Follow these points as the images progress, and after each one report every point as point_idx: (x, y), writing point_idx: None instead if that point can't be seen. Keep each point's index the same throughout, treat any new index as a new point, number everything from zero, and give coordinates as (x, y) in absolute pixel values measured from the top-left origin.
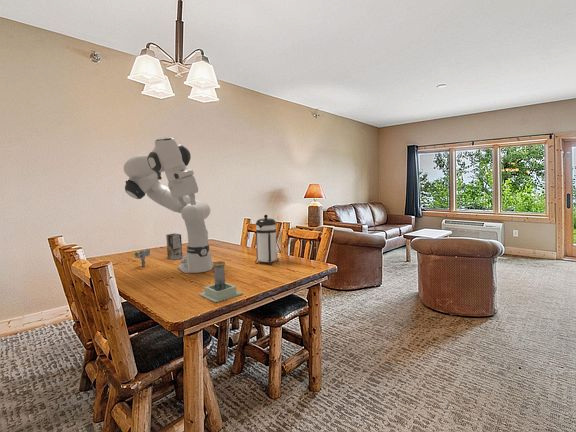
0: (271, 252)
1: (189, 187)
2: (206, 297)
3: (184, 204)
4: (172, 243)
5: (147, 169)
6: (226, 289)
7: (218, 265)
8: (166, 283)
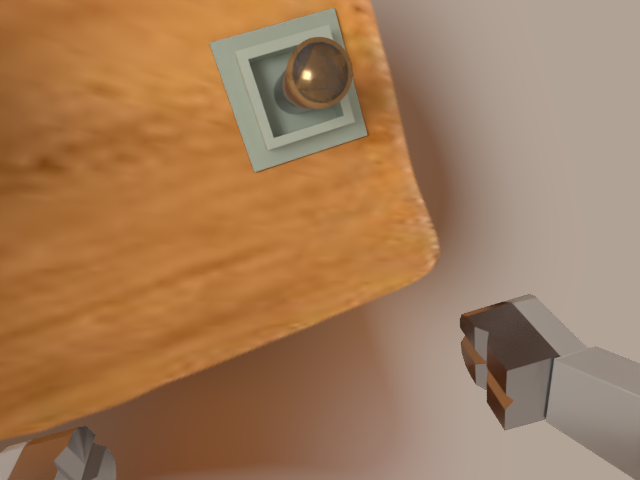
0: None
1: None
2: (311, 153)
3: (78, 478)
4: None
5: None
6: None
7: (349, 87)
8: (29, 274)
